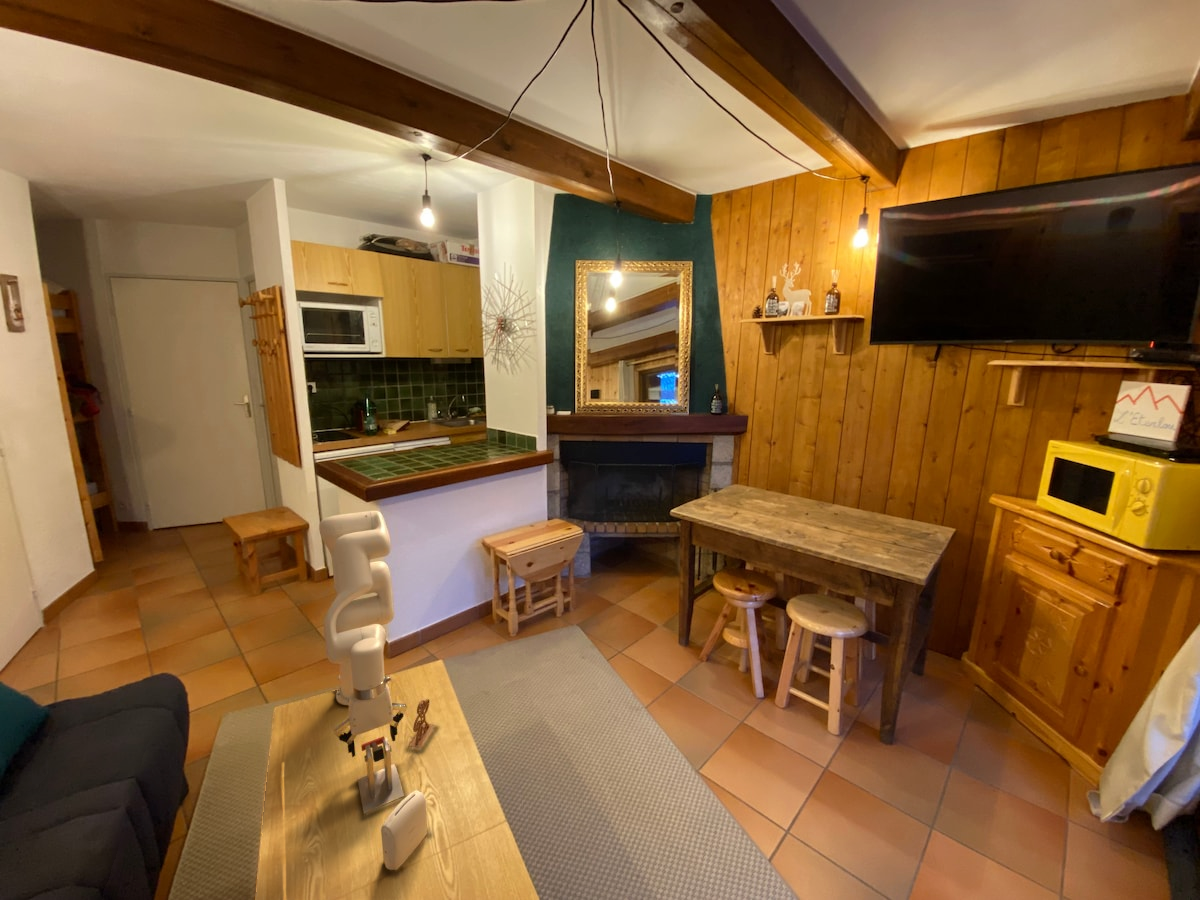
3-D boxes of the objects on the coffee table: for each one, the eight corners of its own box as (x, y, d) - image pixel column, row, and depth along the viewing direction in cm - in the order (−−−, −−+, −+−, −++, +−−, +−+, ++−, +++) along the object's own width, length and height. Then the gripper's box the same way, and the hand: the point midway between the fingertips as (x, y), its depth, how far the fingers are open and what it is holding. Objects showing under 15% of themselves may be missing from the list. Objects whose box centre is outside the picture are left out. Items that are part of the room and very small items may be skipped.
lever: (361, 752, 125) (360, 742, 126) (384, 743, 128) (383, 733, 129) (367, 765, 115) (365, 754, 116) (391, 755, 118) (390, 745, 119)
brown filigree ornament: (420, 751, 132) (419, 714, 130) (407, 749, 133) (405, 712, 131) (436, 727, 141) (435, 692, 139) (424, 725, 142) (422, 690, 139)
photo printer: (395, 877, 101) (392, 829, 98) (380, 868, 102) (377, 820, 100) (430, 834, 110) (428, 789, 108) (416, 826, 112) (414, 781, 109)
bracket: (357, 783, 122) (354, 740, 120) (395, 767, 127) (392, 725, 125) (364, 817, 113) (360, 771, 111) (404, 799, 118) (401, 755, 116)
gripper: (401, 668, 131) (404, 723, 134) (329, 690, 121) (334, 749, 124) (407, 683, 125) (411, 741, 128) (332, 708, 115) (337, 770, 118)
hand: (373, 745), depth 126 cm, fingers open, 9 cm apart
